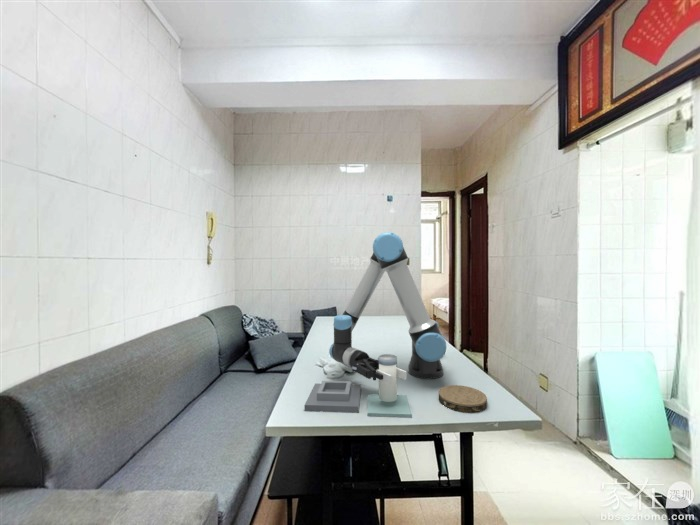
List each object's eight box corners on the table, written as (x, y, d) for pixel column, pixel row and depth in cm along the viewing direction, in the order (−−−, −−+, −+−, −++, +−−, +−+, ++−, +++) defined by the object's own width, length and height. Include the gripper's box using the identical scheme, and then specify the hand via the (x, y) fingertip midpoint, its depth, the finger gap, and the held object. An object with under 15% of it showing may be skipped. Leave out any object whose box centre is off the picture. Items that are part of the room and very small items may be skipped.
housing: (361, 389, 116) (360, 378, 116) (358, 412, 98) (358, 398, 98) (315, 388, 117) (315, 377, 117) (304, 411, 99) (304, 397, 99)
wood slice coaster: (495, 414, 96) (495, 404, 96) (446, 414, 97) (446, 404, 97) (475, 393, 112) (475, 385, 112) (433, 393, 113) (433, 385, 113)
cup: (396, 394, 105) (396, 354, 105) (397, 402, 98) (397, 360, 99) (378, 393, 105) (378, 354, 105) (378, 401, 99) (378, 359, 99)
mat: (406, 397, 108) (406, 395, 108) (411, 417, 94) (411, 414, 94) (368, 396, 109) (368, 394, 109) (367, 416, 95) (367, 412, 95)
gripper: (375, 364, 122) (418, 382, 103) (336, 374, 111) (376, 396, 92) (375, 346, 122) (418, 360, 103) (336, 354, 111) (376, 372, 92)
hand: (398, 377), depth 98 cm, fingers closed on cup, 6 cm apart
